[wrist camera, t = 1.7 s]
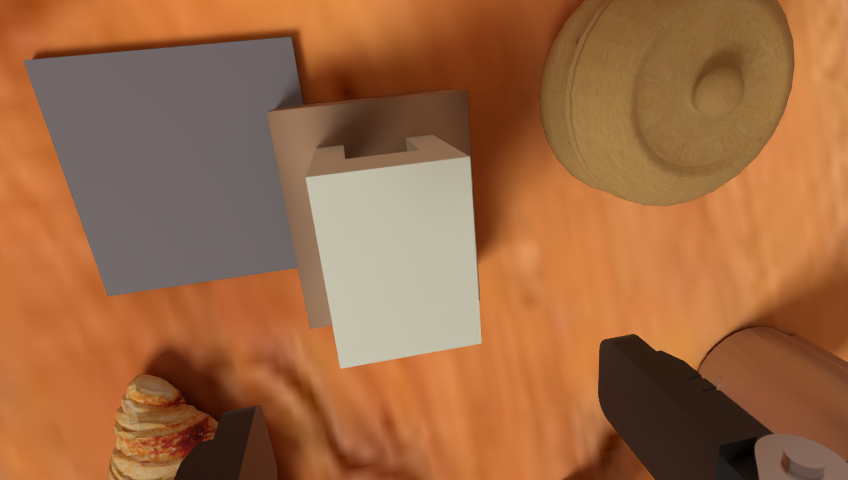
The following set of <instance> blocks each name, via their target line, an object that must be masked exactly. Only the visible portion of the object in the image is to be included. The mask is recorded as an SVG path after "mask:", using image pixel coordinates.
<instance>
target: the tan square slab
mask: <svg viewBox="0 0 848 480" xmlns="http://www.w3.org/2000/svg"><path fill="white" fill-rule="evenodd" d="M267 117H268V122H269V126H270V131H271V136H272V141H273V146H274V151H275V156H276V161H277V166H278V171H279V176H280V181H281V186H282V191H283V196H284V201H285V206H286V211H287V216H288V221H289V226H290V231H291V236H292V240H293V245H294V250H295V255H296V260H297V265H298V270H299V275H300V280H301V285H302V290H303V295H304V300H305V305H306V310H307V315H308V320H309V325H310V329H313V328H319V327H325V326H331V325H332V320H331V314H330V309H329V303H328V298H327V292H326V287H325V281H324V276H323V270H322V265H321V259H320V254H319V249H318V243H317V238H316V232H315V227H314V221H313V216H312V210H311V205H310V199H309V194H308V188H307V183H306V178H305V177H306V175H307V172H308V169H309V166H310V163H311V160H312V157H313V154H314V152H315V149H316V148H324V147H332V146H341V145H344V152H345V158H346V159H350V158H358V157H366V156H374V155H383V154H391V153H399V152H407V144H406V138H408V137H417V136H425V135H434V136H436V137H437V138H439V139H441V140H442V141H444V142H446V143H448V144H449V145H451V146H453V147H454V148H456V149H458V150H459V151H461V152H463V153H465V154H466V155H468V156H470V165H471V181H472V197H473V213H474V229H475V246H476V262H477V278H478V294H479V301H480V290H479V273H478V257H477V240H476V224H475V207H474V191H473V174H472V158H471V141H470V125H469V108H468V92H467V90H457V89H445V90H435V91H426V92H417V93H407V94H398V95H389V96H379V97H370V98H360V99H351V100H342V101H332V102H323V103H313V104H304V105H299V106H289V107H280V108H274V109H272V110H270V111H268V112H267Z"/></svg>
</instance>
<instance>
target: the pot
mask: <svg viewBox="0 0 848 480" xmlns="http://www.w3.org/2000/svg"><path fill="white" fill-rule="evenodd" d="M793 72H794V49H793V39H792V35H791V32H790V29H789V25H788V22H787V18H786V15H785V13H784V11H783V10H782V8H781V6H780V5H779V3H778V1H777V0H584V1H583V2H582V3H581V5H580V6H579V7H578V8H577V9H576V10H575V11H574V12H573V13H572V14H571V16H570V17H569V18H568V19H567V20H566V21H565V23H564V25H563V26H562V28H561V30H560V31H559V33H558V35H557V36H556V38H555V40H554V41H553V43H552V46H551V48H550V51H549V54H548V57H547V59H546V62H545V65H544V68H543V73H542V79H541V85H540V92H539V98H540V116H541V121H542V124H543V128H544V132H545V135H546V139H547V141H548V143H549V145H550V147H551V149H552V150H553V152H554V154H555V156H556V158H557V159H558V161H559V162H560V163H561V164H562V165H563V166H564V167H565V168H566V169H567V171H568V172H569V173H570V174H571V175H572V176H573V177H575V178H576V179H578V180H580V181H581V182H583V183H584V184H586V185H588V186H589V187H591V188H595V189H598V190H601V191H604V192H608V193H610V194H612V195H614V196H615V197H618V198H622V199H625V200H628V201H631V202H635V203H639V204H642V205H651V206H670V205H675V204H680V203H686V202H690V201H692V200H694V199H697V198H699V197H701V196H704V195H706V194H708V193H711V192H713V191H715V190H716V189H718V188H719V187H721V186H722V185H724V184H725V183H727V182H728V181H729V180H731V179H732V178H734V177H735V176H737V175H738V174H739V173H740V172H741V171H742V170H743V169H744V168H746V167H747V166H748V165H749V164H750V163H751V162H752V161H753V160H754V159H755V158H756V157H757V156H758V154H759V153H760V152H761V150H762V149H763V148H764V146H765V145H766V143H767V142H768V141H769V139H770V138H771V137H772V135H773V134H774V132H775V130H776V128H777V126H778V124H779V122H780V120H781V118H782V116H783V114H784V111H785V108H786V105H787V101H788V98H789V95H790V92H791V88H792V80H793Z"/></svg>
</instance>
